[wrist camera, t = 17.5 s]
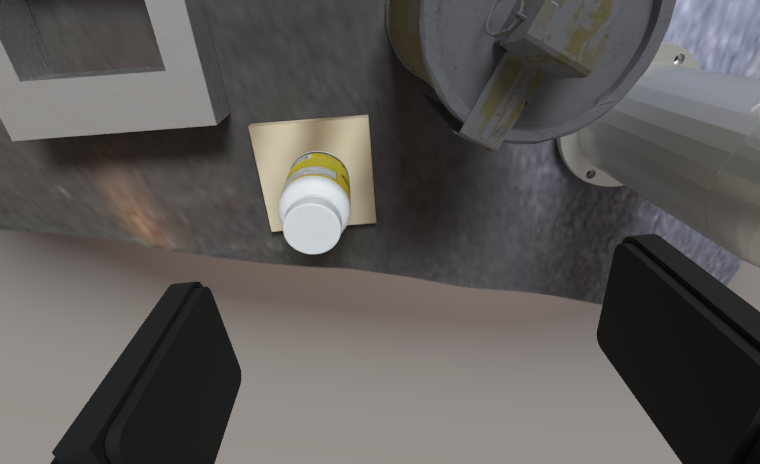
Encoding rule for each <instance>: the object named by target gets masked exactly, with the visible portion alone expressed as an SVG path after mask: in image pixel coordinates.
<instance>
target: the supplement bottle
mask: <svg viewBox="0 0 760 464" xmlns="http://www.w3.org/2000/svg"><path fill="white" fill-rule="evenodd" d="M350 212H351V203H350V179H349V174H348V171H347V168H346V166H345V165H344V163H343V162H342V161H341V160H340V159H339V158H338V157H336V156H335V155H333V154H331V153H328V152H325V151H311V152H307V153H305V154H303V155H301V156H300V157H298V158H297V159H296V160H295V161H294V163H293V164H292V166H291V168H290V170H289V173H288V176H287V179H286V182H285V185H284V188H283V190H282V193H281V196H280V200H279V205H278V214H279V219H280V222H281V224H282V226H283V233H284V236H285V239H286V240H287V242H288V243H289V244H290V245H291V246H292V247H293V248H294V249H296V250H297V251H300V252H302V253H305V254H321V253H324V252H326V251H328V250H330V249H331V248H333V247H334V246H335V245H336V243H337V242H338V240H339V238H340V235H341V233H342V232H343V231H344V229H345V228H346V226H347V224H348V222H349V219H350Z"/></svg>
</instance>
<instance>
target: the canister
mask: <svg viewBox="0 0 760 464" xmlns="http://www.w3.org/2000/svg"><path fill="white" fill-rule="evenodd" d="M675 3H676V0H387V1H386V11H385V14H386V28H387V33H388V37H389V40H390V43H391V45H392V48H393V50H394V52H395V54H396V56H397V57H398V59H399V60H400V61H401V63H402V64H403V65H404V66H405V67H406V68H407V69H408V70H409V71H410V72H412V73H413V74H414V75H415V76H417V77H419V78H420V79H422V80H425V81H426V82H427V83H428V84H429V85H430V86H431V87H432V88H433V89H434V90H435V91H436V93H437V95H438V97H439V99H440V100H441V102H442V103H441V102H439V101H437V100H435V99H433V98H431V97H429V96H427V95H425V94H423V93H421V92H420V93H421V94H422V96H423V97H424V98H425V99H426V100H427V101H428V103H429V104H430V105H431V106H432V107H433V108H434V110H435V111H436V112H437V113H438V114H439V115H440V117H441V118H442V119H443V120H444V121H445V122H446V124H447V125H448V126H449V127H450V128H451V129H452V130H453V132H454V133H455V134H456V135H458V136H460V137H462V138H464V139H466V140H468V141H470V142H472V143H474V144H476V145H479V146H481V147H483V148H485V149H487V150H489V151H491V152H493V153H494V152H496V151H497V150H498V149H499V147H500V146H501V144H502V142H507V143H513V144H536V143H540V142H544V141H548V140H552V139H556V138H560V137H563V136H567V135H570V134H574V133H575V132H577V131H579V130H580V129H582V128H584V127H585V126H587V125H589V124H590V123H592V122H594V121H595V120H597V119H599V118H600V117H601V116H603V115H604V114H605V113H606V112H608V111H609V110H610V109H611V108H613V107H614V106H615V105H616V104H617V103H619V102H620V101H621V100H622V99H623V98H624V97H625V95H626V94H627V93H628V92H629V91H630V89H631V88H632V87H633V86H634V85H635V83H636V82H637V81H638V80H639V79H640V77H641V76H642V75H643V74H644V73H645V71H646V70H647V69H648V67H649V65H650V64H651V62H652V60H653V59H654V57H655V55H656V54H657V52H658V49H659V47H660V45H661V43H662V40H663V38H664V36H665V33H666V31H667V29H668V26H669V24H670V20H671V17H672V13H673V10H674V6H675Z"/></svg>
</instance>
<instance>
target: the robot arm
mask: <svg viewBox="0 0 760 464" xmlns="http://www.w3.org/2000/svg"><path fill="white" fill-rule="evenodd" d="M556 141H557V146H558V151H559V154H560V156H561V158H562V160H563V162H564V164H565V165H566V166H567V168H568V169H569V170H570V171H571V172H572V173H574V174H575V175H576V176H577V177H579V178H580V179H582V180H583V181H585V182H587V183H590V184H593V185H596V186H603V187H617V186H624V185H625V186H626V187H628V188H630V189H631V190H633V191H634V192H636V193H637V194H639V195H640V196H642V197H644V198H645V199H647V200H648V201H650V202H651V203H653V204H655V205H656V206H658V207H659V208H661V209H662V210H664V211H666V212H667V213H669V214H670V215H672V216H673V217H675V218H677V219H678V220H680V221H681V222H683V223H684V224H686V225H688V226H689V227H691V228H692V229H694V230H695V231H697V232H699V233H700V234H702V235H703V236H705V237H706V238H708V239H710V240H711V241H713V242H715V243H716V244H718V245H720V246H721V247H723V248H724V249H726V250H727V251H729V252H731V253H732V254H734V255H735V256H737V257H739V258H740V259H742V260H744V261H746V262H748V263H750V264H752V265H755V266H757V267H760V80H759V79H753V78H747V77H741V76H735V75H729V74H724V73H718V72H712V71H706V70H701V68H700V66H699V64H698V62H697V60H696V59H695V58H694V57H693V56H692V55H691V54H690V53H689V52H688V51H687V50H685V49H683V48H682V47H680V46H678V45H676V44H672V43H669V42H665V41H662V43H661V45H660V47H659V49H658V52H657V54H656V55H655V57H654V59H653V60H652V62H651V64H650V65H649V67H648V69H647V70H646V71H645V73H644V74H643V75H642V76H641V77H640V79H639V80H638V81H637V82H636V83H635V85H634V86H633V87H632V88H631V89H630V91H629V92H628V93H627V94H626V95H625V97H624V98H623V99H622V100H621V101H620V102H619V103H617V104H616V105H615V106H614V107H613V108H611V109H610V110H609V111H608V112H606V113H605V114H604V115H603V116H601V117H600V118H599V119H597V120H595V121H594V122H592V123H590V124H589V125H587V126H585V127H584V128H582V129H580V130H579V131H577V132H575V133H574V134H570V135H567V136H563V137H560V138H556ZM597 340H598V343H599V346H600V348H601V349H602V351H603V352H604V354H605V355H606V356H607V358H608V359H609V361H610V362H611V363H612V365H613V366H614V367H615V369H616V371H617V372H618V373H619V375H620V376H621V377H622V379H623V380H624V382H625V383H626V385H627V386H628V387H629V389H630V390H631V392H632V393H633V394H634V396H635V397H636V399H637V400H638V402H639V403H640V404H641V406H642V407H643V408H644V410H645V411H646V413H647V414H648V416H649V417H650V419H651V420H652V421H653V423H654V424H655V426H656V427H657V428H658V430H659V431H660V432H661V434H662V435H663V437H664V438H665V440H666V441H667V442H668V444H669V445H670V447H671V448H672V449H673V451H674V452H675V454H676V455H677V457H678V458H679V459H680V461H681V462H682V464H760V312H759V311H758V310H756V309H755V308H753V306H751V305H750V304H749V303H747V302H746V301H745V300H743V299H742V298H741V297H739V296H738V295H737V294H735V293H734V292H733V291H731V290H730V289H729V288H727V287H726V286H725V285H723V284H722V283H721V282H719V281H718V280H717V279H715V278H714V277H713V276H712V275H710V274H709V273H708V272H706V271H705V270H704V269H702V268H701V267H700V266H698V265H697V264H696V263H694V262H693V261H692V260H690V259H689V258H688V257H686V256H685V255H684V254H682V253H681V252H680V251H678V250H677V249H676V248H674V247H673V246H672V245H670V244H669V243H668V242H666V241H665V240H664V239H663V238H661V237H660V236H658V235H656V234H647V235H638V236H628V237H626V238H625V239H624V240H623V241H622V244H618V245H617V246H616V248H615V251H614V256H613V260H612V265H611V269H610V274H609V279H608V283H607V288H606V292H605V297H604V302H603V306H602V311H601V315H600V320H599V325H598V329H597ZM240 384H241V369H240V366H239V363H238V361H237V358H236V356H235V353H234V350H233V347H232V345H231V342H230V340H229V337H228V334H227V332H226V329H225V326H224V324H223V321H222V318H221V316H220V313H219V311H218V308H217V305H216V303H215V300H214V297H213V295H212V292H211V290H210V289H209V288H208V287H203V286H202V284H201V283H200V282H188V283H179V284H173V285H170V287H168V289H167V290H166V292H165V293H164V295H163V296H162V297H161V299H160V300H159V302H158V303H157V304H156V306H155V307H154V309H153V310H152V311H151V313H150V314H149V316H148V317H147V319H146V320H145V321H144V323H143V324H142V326H141V327H140V328H139V330H138V331H137V333H136V334H135V336H134V337H133V338H132V340H131V341H130V343H129V344H128V345H127V347H126V348H125V350H124V351H123V353H122V354H121V355H120V357H119V358H118V360H117V361H116V362H115V364H114V365H113V367H112V368H111V370H110V371H109V372H108V374H107V375H106V377H105V378H104V379H103V381H102V382H101V384H100V385H99V387H98V388H97V389H96V391H95V392H94V394H93V395H92V396H91V398H90V399H89V401H88V402H87V404H86V405H85V406H84V408H83V409H82V411H81V412H80V414H79V415H78V416H77V418H76V419H75V421H74V422H73V424H72V425H71V426H70V428H69V429H68V430H67V432H66V433H65V435H64V436H63V438H62V439H61V440H60V442H59V443H58V445H57V446H56V447H55V449H54V450H53V452H52V453H53V455H54V456H55V458H54V459H53V461H52V462H51V464H214V463H215V460H216V457H217V454H218V451H219V448H220V445H221V442H222V439H223V435H224V432H225V430H226V427H227V423H228V421H229V417H230V414H231V411H232V408H233V405H234V402H235V399H236V396H237V393H238V390H239V387H240Z"/></svg>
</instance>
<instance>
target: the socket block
mask: <svg viewBox="0 0 760 464" xmlns="http://www.w3.org/2000/svg"><path fill="white" fill-rule="evenodd" d="M145 3H146V7H147V10H148V13H149V17H150V20H151V23H152V27H153V30H154V33H155V37H156V40H157V43H158V46H159V50H160V53H161V56H162V60H163V63H164V66H155V67H141V68H128V69H114V70H100V71H87V72H73V73H59V74H57V73H56V71H55V68H54V66H53V64H52V61H51V59H50V57H49V54H48V52H47V50H46V47H45V45H44V43H43V40H42V38H41V36H40V33H39V31H38V29H37V26H36V24H35V22H34V19H33V17H32V15H31V12H30V10H29V8H28V5H27V3H26V0H0V118H1V120H2V122H3V124H4V126H5V128H6V130H7V132H8V133H9V135H10V137H11V139H12V141H21V140H33V139H46V138H59V137H72V136H85V135H98V134H110V133H123V132H136V131H149V130H162V129H175V128H187V127H200V126H213V125H217V124H219V123H220V122H221V121H222V120H223V119H224V118H226V117H227V116H228V115H229V114H230V109H229V105H228V101H227V97H226V93H225V89H224V84H223V80H222V76H221V72H220V68H219V64H218V59H217V55H216V51H215V47H214V43H213V39H212V34H211V30H210V26H209V22H208V18H207V13H206V9H205V5H204V1H203V0H145Z"/></svg>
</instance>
